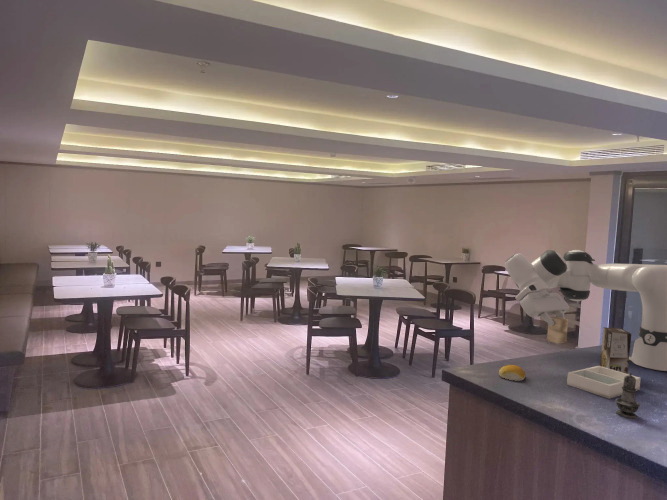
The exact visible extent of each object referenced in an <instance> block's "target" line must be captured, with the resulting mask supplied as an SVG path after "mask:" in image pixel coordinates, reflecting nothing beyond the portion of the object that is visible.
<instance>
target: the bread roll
mask: <svg viewBox="0 0 667 500" xmlns="http://www.w3.org/2000/svg"><path fill="white" fill-rule="evenodd" d="M498 375H499V377H500V378H502V379H504V378H505V380H508V379H509V380H508V381H513V380H515V382H520V380H521V381H523V380H524V379H525V378H526V372H525V371H524V369H523V368H522V367H520V366H519V365H515V364H507V365H504V366H502V367H501V368H500V369H499V370H498Z"/></svg>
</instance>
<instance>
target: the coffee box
mask: <svg viewBox="0 0 667 500" xmlns="http://www.w3.org/2000/svg"><path fill="white" fill-rule="evenodd" d="M631 342H632V333H631V332H629V331H627V330H626V329H623V328H619V327H606V326H605V327H604V326H603V328H602V339H601V351H600V363H599V366H601V367H605V368H608V369H612V370H615V371H619V372H622V373H626V374H629V373H628V372H629V364H630V363H629V361H630V360H629V356H630V351H631Z"/></svg>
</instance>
